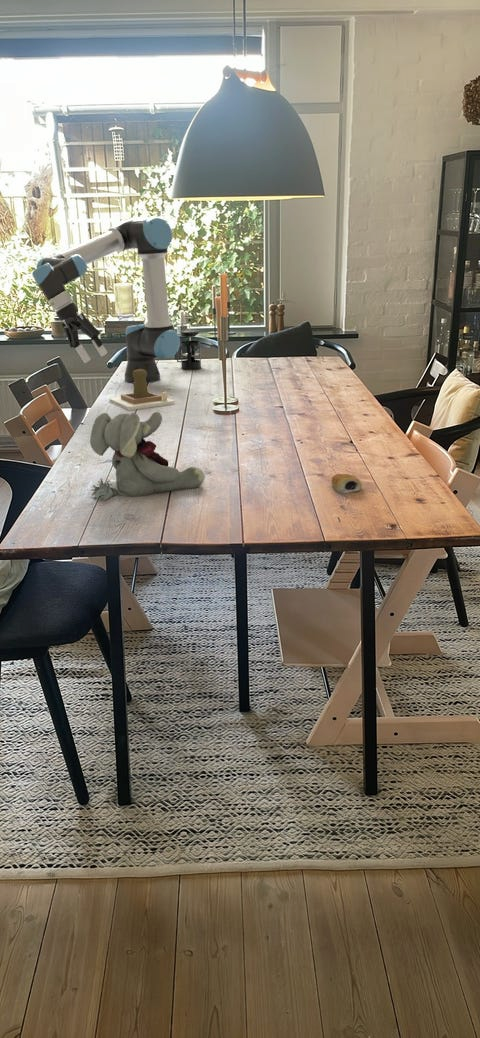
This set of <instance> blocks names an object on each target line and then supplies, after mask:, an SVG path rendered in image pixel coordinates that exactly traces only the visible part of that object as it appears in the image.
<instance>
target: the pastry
mask: <svg viewBox="0 0 480 1038" xmlns="http://www.w3.org/2000/svg"><path fill="white" fill-rule="evenodd" d="M331 485H332V488H333V489H334V490H335V492H337V493H339V494H349V493H357V492H359V491H360V490H361V489H362V487H363V484H362V482H361V480H360V479H359V478H357V476H356V475H353V474H349V473H336V474H334V475H333V476H332V478H331Z"/></svg>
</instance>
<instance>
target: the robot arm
mask: <svg viewBox="0 0 480 1038" xmlns="http://www.w3.org/2000/svg"><path fill="white" fill-rule="evenodd" d="M172 240H173V233H172V228H171V227H170V224H169V223H168V222H167V220H165V219H164V218H162V217H160V216H137V217H131V218H128V219H126V220H124V221H122V222H120V223H117V224H116V225H114V226H111V227H110V228H108V229H107V231H106V232H105V233H103V234H101V235H98V236H96V237H93V238H91V239H89V240H87V241H85V242H82V243H80V244H78V245H75V246H74V247H71V248H69V249H67V250H65V251H62V252H60V253H58V254H56V255H53V256H51V257H50V256H49V257H44V258H40V259H39V261H38V262H37V265H36V269H35V270H33V271H32V277H33V279H34V281H35V282H36V284H37V286H38V287H39V288H40V290H41V292H42V293H43V295H44V297H45V298H46V300H47V301H48V303H49V305H50V307H52V309H53V311H56V312H55V314H56V316H57V317H58V318H59V320H60V321H61V322H62V323H61V326H62V329H63V330H64V331H63V332H64V333H65V336H66V339H67V342H68V344H69V347H70V348H73V349H75V350H76V352H77V353H78V355H79V357H80V358H81V359H82V361H83V363H84V364H87V363H88V362H89V361H91V360H92V359H91V357H90V356H89V354H88V353H87V351H86V349H85V348H84V345H82V343H81V342H80V339H79V332H78V331H80V332H82V333H83V334H84V335H86V336H87V337H89V339H90V340H91V342H92V344H93V346H94V347H95V350H97V352H98V354H99V355H100V357H102V358H103V356H105V355H107V354H108V351H107V349H106V347H105V346H104V344H103V342H102V341H101V339H100V338H99V335H100V331H99V330H98V329H97V328H96V327H95V325H93V323H91V321H90V320H88V318H86V317H85V315H84V313H83V312H81V313H79V314H77V313H78V312H79V308H78V307H77V306H76V304H75V302H72V300H73V298H72V297H71V296H70V294H69V292H68V291H67V289H66V288H65V287H66V285H68V284H70V283H72V282H74V281H76V280H77V279H79V278H81V276H83V275H85V274H86V273H87V270H88V267H87V265H89V264H91V263H93V262H95V261H97V260H101V258H104V257H106V256H109V255H111V254H113V253H115V252H117V253H122V252H124V251H127V250H132V249H133V250H134V249H136V250H137V255H138V257H140V258H141V261H142V271H143V283H144V293H145V294H144V295H145V304H146V306H145V307H146V317H147V321H146V323H145V324H144V323H143V324H136V325H135V324H134V325H128V326H126V328H125V343H126V346H125V347H126V356H127V357H126V359H127V364H126V368H125V372H124V376H123V377H124V381H125V382H127V383H134V378H133V371H134V370H137V369H143V370H145V371H146V372H147V377H146V383H152V382H156V381H159V380H161V374H160V370H159V368H158V365H157V363H156V359H160V360H167V359H168V360H170V359H171V358H173V357H175V355H177V352H178V353H179V350H180V348H181V344H180V342H181V338H180V335H179V334H178V333H177V331H175V330H174V329H175V328H174V323H173V322H172V321H171V320H170V315H169V313H170V312H169V305H168V304H169V303H168V292H167V291H168V289H167V280H166V266H165V265H166V264H165V257H166V256H167V255H168V247H169V246H171V245H170V244H171V243H172ZM63 321H64V322H63Z"/></svg>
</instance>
